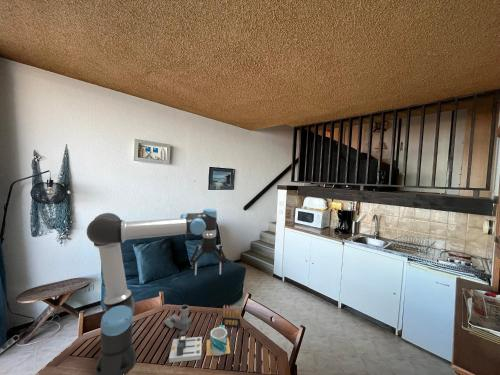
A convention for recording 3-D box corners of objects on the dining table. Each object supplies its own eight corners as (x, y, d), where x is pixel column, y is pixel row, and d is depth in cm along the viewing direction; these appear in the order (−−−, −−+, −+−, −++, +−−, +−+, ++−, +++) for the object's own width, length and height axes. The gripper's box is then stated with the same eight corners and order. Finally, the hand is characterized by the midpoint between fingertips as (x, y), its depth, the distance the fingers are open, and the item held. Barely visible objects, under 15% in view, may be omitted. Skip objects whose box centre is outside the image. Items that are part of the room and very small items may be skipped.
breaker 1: (179, 342, 109) (179, 334, 109) (179, 339, 112) (179, 331, 111) (184, 342, 110) (184, 334, 109) (185, 338, 112) (185, 330, 112)
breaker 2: (179, 348, 105) (179, 340, 105) (180, 344, 108) (180, 336, 108) (185, 348, 106) (185, 339, 106) (185, 344, 108) (186, 335, 108)
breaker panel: (168, 362, 100) (169, 357, 100) (173, 343, 112) (173, 338, 112) (200, 359, 103) (201, 354, 102) (201, 340, 114) (201, 336, 114)
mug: (207, 354, 105) (208, 337, 104) (214, 336, 117) (214, 320, 116) (224, 356, 104) (225, 339, 104) (229, 338, 116) (230, 322, 116)
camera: (183, 312, 118) (162, 305, 124) (183, 334, 118) (162, 326, 124) (194, 304, 125) (174, 298, 132) (194, 325, 126) (174, 317, 132)
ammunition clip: (240, 325, 127) (241, 304, 127) (240, 327, 125) (241, 306, 125) (222, 324, 128) (222, 303, 127) (221, 326, 126) (222, 305, 125)
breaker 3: (176, 355, 101) (176, 347, 101) (177, 351, 104) (177, 342, 104) (182, 355, 102) (182, 346, 101) (183, 350, 104) (183, 342, 104)
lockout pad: (206, 356, 104) (206, 355, 104) (206, 340, 114) (206, 339, 114) (230, 353, 106) (230, 352, 106) (228, 338, 116) (228, 337, 116)
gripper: (185, 238, 120) (184, 277, 121) (232, 238, 124) (230, 275, 125) (186, 235, 127) (185, 271, 128) (230, 234, 131) (229, 270, 132)
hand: (208, 273), depth 127 cm, fingers open, 13 cm apart
